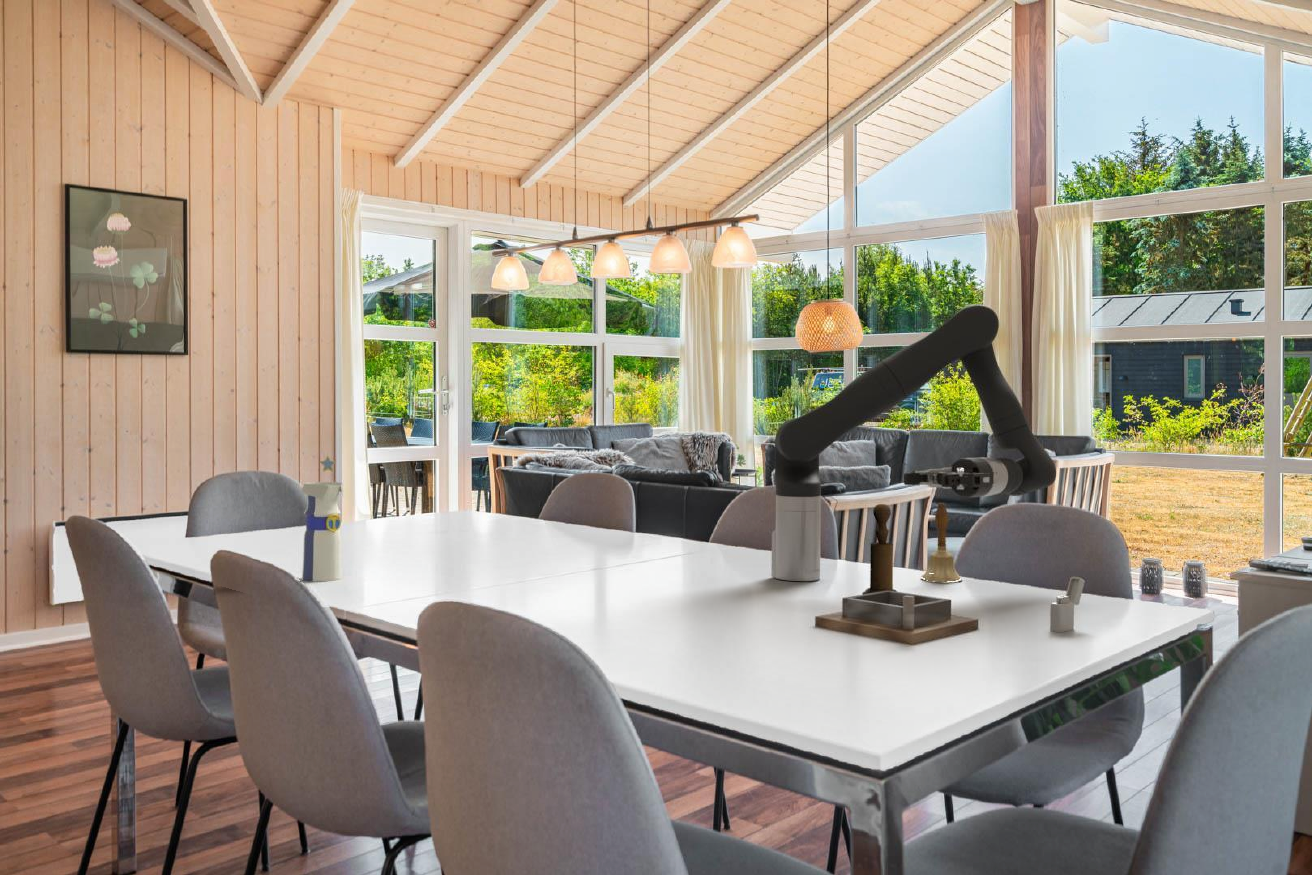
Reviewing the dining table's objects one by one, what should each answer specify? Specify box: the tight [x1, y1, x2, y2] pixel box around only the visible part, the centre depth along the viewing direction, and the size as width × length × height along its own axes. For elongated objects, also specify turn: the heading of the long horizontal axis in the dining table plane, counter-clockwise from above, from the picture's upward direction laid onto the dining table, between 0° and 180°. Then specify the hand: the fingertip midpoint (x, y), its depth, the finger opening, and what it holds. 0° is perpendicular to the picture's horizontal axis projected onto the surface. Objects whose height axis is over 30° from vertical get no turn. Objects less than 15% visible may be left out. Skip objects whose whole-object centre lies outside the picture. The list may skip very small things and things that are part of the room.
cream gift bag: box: [301, 455, 344, 582], centre depth 211 cm, size 8×9×25 cm
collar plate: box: [814, 590, 979, 645], centre depth 164 cm, size 18×18×6 cm
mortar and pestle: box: [861, 503, 898, 595], centre depth 183 cm, size 7×6×18 cm
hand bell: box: [921, 502, 962, 582], centre depth 215 cm, size 8×8×16 cm
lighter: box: [1049, 576, 1086, 633], centre depth 164 cm, size 7×2×8 cm, turn 128°
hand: (923, 480), depth 190 cm, fingers open, 8 cm apart
